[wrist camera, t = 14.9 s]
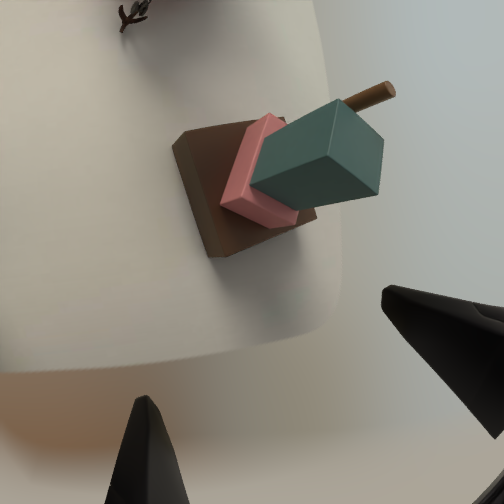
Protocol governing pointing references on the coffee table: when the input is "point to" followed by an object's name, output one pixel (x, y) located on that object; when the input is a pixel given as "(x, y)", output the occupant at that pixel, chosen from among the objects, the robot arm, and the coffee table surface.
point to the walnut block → (220, 189)
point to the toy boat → (133, 14)
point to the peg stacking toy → (307, 161)
